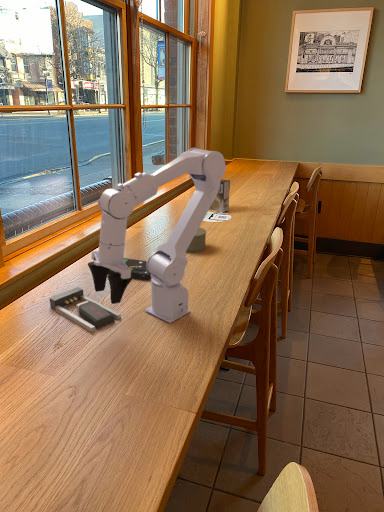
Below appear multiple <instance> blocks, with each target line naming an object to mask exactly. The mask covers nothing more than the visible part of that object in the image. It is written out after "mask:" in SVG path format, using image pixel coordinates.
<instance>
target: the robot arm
mask: <svg viewBox="0 0 384 512" xmlns="http://www.w3.org/2000/svg"><path fill="white" fill-rule="evenodd" d="M226 171H227V165H226V161H225V157H224V155H223V154H222V153H221V152H219V151H216V150H207V149H202V148H201V149H200V148H198V147H192V148H190V149H188V150H186V151H183V152H182V153H181V154H180V155H179V156H178V157H176V158H174V159H173V160H171V161H170V162H168V163H166V164H165V165H163V166H161V167H160V168H158V169H157V170H155V171H154V172H153V173H151V174H149V173H147V172H137V173H135V174H134V177H133V178H131V179H129V180H127V181H126V182H124V183H122V182H121V183H118V184H117V186H116V188H107V189H105V190H104V191H103V192H102V193H101V195H100V197H99V199H98V200H97V205H98V207H99V209H100V210H101V219H100V231H99V243H98V250H94V251H93V250H92V251H91V260H93V261H90V262H88V263H87V266H88V268H89V270H90V272H91V273H90V274H91V276H92V280H93V285H94V290H95V292H96V293H97V292H103V291H105V288H106V284H107V283H106V282H107V280H108V283H109V289H110V303H111V304H113V305H114V304H120V303H121V301H122V298H123V297H124V293H125V291H126V290H127V287H128V286H129V284H130V283H131V282H132V281H133V279H134V278H133V276H132V275H131V270H130V269H129V268H128V267H127V265H126V264H125V262H124V261H123V258H124V256H125V255H124V254H125V245H126V235H127V234H126V233H127V222H128V217H129V216H131V214H132V213H133V210H134V208H136V207H137V206H139V205H140V204H143V203H144V202H146V201H147V200H149V199H151V198H152V197H154V196H156V195H157V193H158V189H159V188H160V187H162V186H164V185H166V184H168V183H170V182H172V181H173V180H176V179H178V178H180V177H182V176H183V175H186V174H187V175H188V174H189V176H190V178H191V179H192V181H193V184H194V188H195V189H194V192H193V193H192V195H191V197H190V199H189V201H188V203H187V205H186V206H185V208H184V210H183V212H182V214H181V215H180V218H179V219H178V220H177V223H176V225H175V226H174V228H173V230H172V232H171V234H170V236H169V237H168V239H167V241H166V242H165V243H162V244H160V245H158V246H157V248H156V250H155V251H154V252H153V253H152V254H150V255H149V257H148V258H147V260H146V261H147V263H146V267H147V270H148V271H149V272H150V273H151V279H150V280H151V282H150V285H151V306H149V307H147V308H145V309H144V311H145V312H146V313H149V314H150V315H152V316H154V317H157V318H159V319H161V320H163V321H165V322H167V323H169V324H171V323H173V322H175V321H177V320H178V319H180V318H182V317H184V316H185V315H187V314H189V313H190V312H191V310H190V309H189V291H188V289H187V288H186V286H184V285H182V284H181V281H182V280H183V278H184V275H185V269H186V267H187V265H188V257H187V254H186V253H185V252H186V250H187V248H188V247H189V245H190V243H191V241H192V239H193V238H194V236H195V234H196V232H197V230H198V228H201V227H200V226H201V224H202V222H203V221H204V219H205V217H206V216H207V214H208V212H209V211H208V210H209V208H210V207H211V205H212V203H213V201H214V199H215V198H216V196H217V194H218V191H219V186H220V181H221V179H223V177H224V175H225V173H226ZM109 269H111V270H113V271H114V272H116V274H114V275H108V272H109Z"/></svg>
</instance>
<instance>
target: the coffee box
mask: <svg viewBox="0 0 384 512" xmlns="http://www.w3.org/2000/svg"><path fill="white" fill-rule="evenodd" d="M230 186H231V180H229V179H223V178H221V181H220V186H219V191H218V194H217V196H216V198H215V199H214V201H213V203H212V205H211V207H210V208H209V210H213V211H218V212H225V211H228V210H229V209H230V207H229V206H230ZM218 212H217V213H218ZM228 212H229V211H228ZM225 213H226V212H225Z"/></svg>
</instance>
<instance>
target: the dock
mask: <svg viewBox="0 0 384 512" xmlns="http://www.w3.org/2000/svg"><path fill="white" fill-rule="evenodd" d="M48 298H49V306H50V309H53V310H54V311H55V312H56V313H59V314H61V315H63V316H64V317H65V318H67V319H69V320H70V321H72V322H74V323H76V324H77V325H78V326H80V327H82V328H84V329H85V330H87V331H88V332H91V333H93V332H95V331H96V328H95V326H93V325H91V324H90V323H88V322H87V321H86V320H84V319H83V318H82V317H80V316H77V315H76V314H74V313H73V312H71V311H69V310H68V309H66V307H68V306H70V305H73V304H75V303H77V302H79V301H82V302H85V301H88V302H89V301H92V302H94V303H96V304H98V305H99V306H101V307H102V308H104V309H105V310H106V311H108V312H109V313H111V314H112V315H113V316H114V319H116V320H120V319H121V318H122V317H121V316H122V315H121V313H119V312H117V311H115V310H114V309H111V308H109V307H107V306H105V305H104V304H102V303H101V302H98V301H96V300H95V299H92V298H90V297H89V296H86V295H85V294H84V289H83V288H81V287H79V286H77V287H74V288H71V289H69V290H66V291H64V292H61V293H58V294H55V295H53V296H51V297H48Z"/></svg>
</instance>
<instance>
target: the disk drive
mask: <svg viewBox="0 0 384 512" xmlns="http://www.w3.org/2000/svg"><path fill="white" fill-rule="evenodd" d="M123 261H124V262H125V264H126V265H127V267H128V268H129V269H130V270H131V275H132V276H133V278H132V279H133V280H135V279H136V280H142V281H150V280H151V273H150V272H149V271H148V270H147V267H146V263H147V260H142V259H134V258H133V259H132V258H127V257H123ZM114 274H116V272H114V271H113V270H111V269H109V272H108V275H114Z"/></svg>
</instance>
